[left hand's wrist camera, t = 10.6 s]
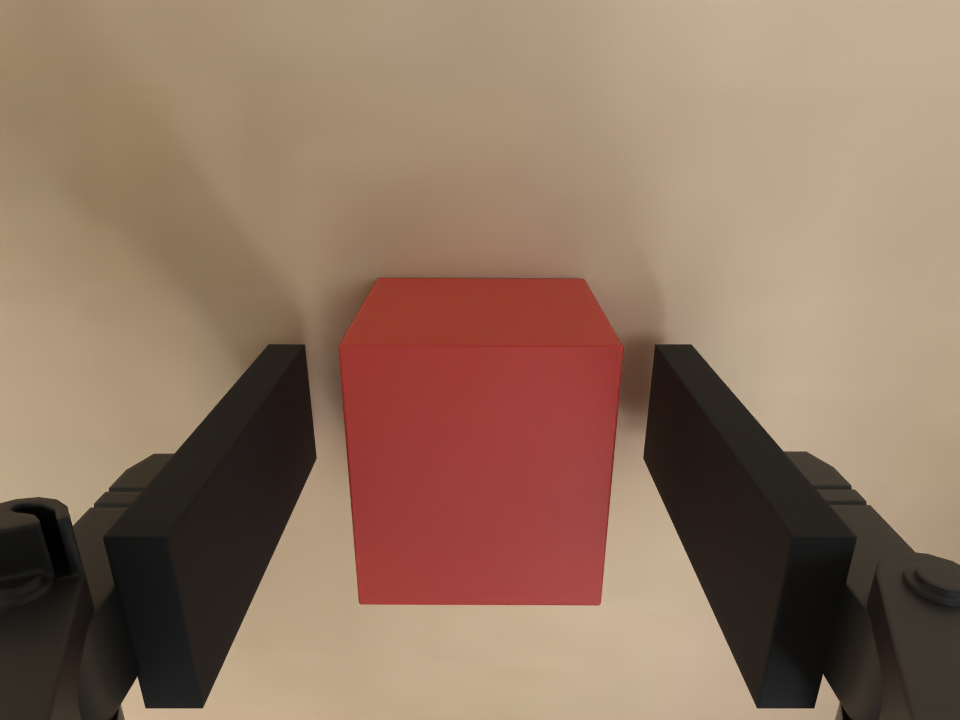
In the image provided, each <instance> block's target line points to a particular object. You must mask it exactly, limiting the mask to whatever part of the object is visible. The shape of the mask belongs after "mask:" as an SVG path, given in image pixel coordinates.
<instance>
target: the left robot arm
mask: <svg viewBox="0 0 960 720" xmlns="http://www.w3.org/2000/svg"><path fill="white" fill-rule="evenodd" d="M316 459H317V457H316V447H315V438H314V428H313V418H312V409H311V399H310V389H309V380H308V370H307V361H306V351H305V345H268V346H267V347H266V348H265V349H264V351H263V352H262V353H261V354H260V355H259V356H258V358H257V359H256V360H255V361H254V362H253V363H252V365H251V366H250V367H249V368H248V369H247V370H246V371H245V373H244V374H243V375H242V376H241V377H240V378H239V380H238V381H237V382H236V383H235V384H234V385H233V387H232V388H231V389H230V390H229V391H228V392H227V394H226V395H225V396H224V397H223V398H222V399H221V401H220V402H219V403H218V404H217V405H216V406H215V407H214V409H213V410H212V411H211V412H210V413H209V414H208V416H207V417H206V418H205V419H204V420H203V421H202V423H201V424H200V425H199V426H198V427H197V428H196V430H195V431H194V432H193V433H192V434H191V435H190V436H189V438H188V439H187V440H186V441H185V442H184V443H183V445H182V446H181V447H180V448H179V449H178V450H177V452H176V453H175V454H153V455H151V456H149V457H148V458H146V459H144V460H143V461H141V462H139V463H137V464H136V465H134V466H132V467H131V468H129V469H127V470H126V471H125V472H124V473H123V474H122V475H121V476H120V477H119V478H118V479H117V480H116V481H115V483H114V484H113V485H112V486H111V487H110V488H109V492H105V493H104V494H103V495H102V496H101V497H100V498H99V499H98V500H97V501H96V502H95V503H94V508H90V509H89V510H88V511H87V512H86V513H85V514H84V515H83V516H82V517H81V518H80V519H79V520H78V521H77V522H76V523H75V524H74V525H73V526H72V522H71V518H70V515H69V511H68V507H67V506H66V505H64V504H63V503H61V502H60V501H58V500H56V499H49V498H41V497H36V498H25V499H15V500H11V501H7V502H4V503H0V720H125V719H124V715H123V711H122V707H121V703H122V701H123V700H124V698H125V696H126V695H127V693H128V691H129V690H130V688H131V686H132V684H133V683H134V681H135V679H136V678H137V676H138V680H139V684H140V688H141V692H142V696H143V700H144V703H145V707H146V708H203V707H204V705H205V702H206V700H207V698H208V696H209V694H210V691H211V689H212V687H213V685H214V683H215V680H216V678H217V676H218V674H219V672H220V669H221V667H222V665H223V663H224V661H225V658H226V656H227V654H228V652H229V650H230V647H231V645H232V643H233V641H234V639H235V636H236V634H237V632H238V630H239V628H240V625H241V623H242V621H243V619H244V617H245V614H246V612H247V610H248V608H249V606H250V604H251V601H252V599H253V597H254V595H255V593H256V590H257V588H258V586H259V584H260V582H261V579H262V577H263V575H264V573H265V571H266V568H267V566H268V564H269V562H270V560H271V557H272V555H273V553H274V551H275V549H276V546H277V544H278V542H279V540H280V538H281V535H282V533H283V531H284V529H285V527H286V524H287V522H288V520H289V518H290V516H291V513H292V511H293V509H294V507H295V505H296V502H297V500H298V498H299V496H300V494H301V491H302V489H303V487H304V485H305V483H306V480H307V478H308V476H309V474H310V472H311V470H312V467H313V465H314V463H315V461H316ZM643 459H644V461H645V463H646V465H647V467H648V470H649V472H650V474H651V476H652V478H653V481H654V483H655V485H656V487H657V489H658V492H659V494H660V496H661V498H662V500H663V502H664V505H665V507H666V509H667V511H668V513H669V516H670V518H671V520H672V522H673V524H674V527H675V529H676V531H677V533H678V535H679V538H680V540H681V542H682V544H683V546H684V549H685V551H686V553H687V555H688V557H689V560H690V562H691V564H692V566H693V568H694V571H695V573H696V575H697V577H698V579H699V582H700V584H701V586H702V588H703V590H704V593H705V595H706V597H707V599H708V601H709V604H710V606H711V608H712V610H713V612H714V615H715V617H716V619H717V621H718V623H719V626H720V628H721V630H722V632H723V634H724V636H725V639H726V641H727V643H728V645H729V647H730V650H731V652H732V654H733V656H734V658H735V661H736V663H737V665H738V667H739V669H740V672H741V674H742V676H743V678H744V680H745V683H746V685H747V687H748V689H749V691H750V694H751V696H752V698H753V700H754V702H755V705H756V707H757V708H814V707H815V703H816V699H817V695H818V692H819V688H820V684H821V680H822V676H823V674H824V676H825V678H826V679H827V681H828V683H829V684H830V686H831V688H832V689H833V691H834V693H835V694H836V696H837V698H838V699H839V701H840V704H839V707H838V711H837V715H836V718H835V720H960V565H959V564H957V563H955V562H953V561H950V560H946V559H943V558H940V557H936V556H933V555H929V554H923V553H915V551H914V550H913V549H912V548H911V547H910V546H909V545H908V544H907V543H906V542H905V541H904V540H903V539H902V538H901V537H900V536H899V535H898V534H897V533H896V532H895V531H894V530H893V529H892V528H891V527H890V525H889V524H888V523H887V522H886V521H885V520H884V519H883V518H882V517H881V516H880V515H879V514H878V513H877V512H876V511H875V510H874V509H873V508H872V507H871V506H870V505H867V504H866V501H865V499H864V498H863V497H862V496H861V495H860V494H859V493H858V492H857V491H856V490H852V488H851V485H850V484H849V483H848V482H847V481H846V480H845V479H844V478H843V477H842V476H841V474H840V473H839V472H838V471H837V470H836V469H835V468H834V467H832V466H830V465H829V464H827V463H825V462H823V461H822V460H820V459H818V458H816V457H815V456H813V455H811V454H810V453H808V452H783V450H782V449H781V448H780V447H779V446H778V445H777V443H776V442H775V441H774V440H773V439H772V438H771V436H770V435H769V434H768V433H767V432H766V431H765V430H764V428H763V427H762V426H761V425H760V424H759V423H758V421H757V420H756V419H755V418H754V417H753V416H752V414H751V413H750V412H749V411H748V410H747V409H746V407H745V406H744V405H743V404H742V403H741V402H740V401H739V399H738V398H737V397H736V396H735V395H734V394H733V392H732V391H731V390H730V389H729V388H728V387H727V385H726V384H725V383H724V382H723V381H722V380H721V378H720V377H719V376H718V375H717V374H716V373H715V372H714V370H713V369H712V368H711V367H710V366H709V365H708V363H707V362H706V361H705V360H704V359H703V358H702V356H701V355H700V354H699V353H698V352H697V351H696V349H695V348H694V347H693V346H692V345H655V351H654V360H653V370H652V380H651V389H650V399H649V409H648V418H647V428H646V438H645V447H644V457H643Z"/></svg>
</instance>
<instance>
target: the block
mask: <svg viewBox="0 0 960 720" xmlns="http://www.w3.org/2000/svg"><path fill="white" fill-rule="evenodd" d="M339 359H340V371H341V384H342V396H343V409H344V421H345V434H346V447H347V459H348V472H349V484H350V497H351V510H352V522H353V535H354V547H355V560H356V572H357V585H358V598H359V603H360V604H390V605H600V603H601V595H602V584H603V572H604V561H605V550H606V539H607V527H608V516H609V505H610V494H611V482H612V471H613V460H614V449H615V437H616V426H617V415H618V404H619V392H620V381H621V370H622V359H623V346H622V344H621V342H620V340H619V339H618V337H617V335H616V333H615V332H614V330H613V328H612V327H611V325H610V323H609V321H608V320H607V318H606V316H605V314H604V313H603V311H602V309H601V308H600V306H599V304H598V302H597V301H596V299H595V297H594V295H593V294H592V292H591V290H590V288H589V287H588V285H587V283H586V282H585V280H584V279H477V278H378V279H377V280H376V282H375V284H374V286H373V287H372V289H371V291H370V293H369V294H368V296H367V298H366V299H365V301H364V303H363V305H362V306H361V308H360V310H359V312H358V313H357V315H356V317H355V319H354V320H353V322H352V324H351V325H350V327H349V329H348V331H347V332H346V334H345V336H344V338H343V339H342V341H341V343H340V345H339Z"/></svg>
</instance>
